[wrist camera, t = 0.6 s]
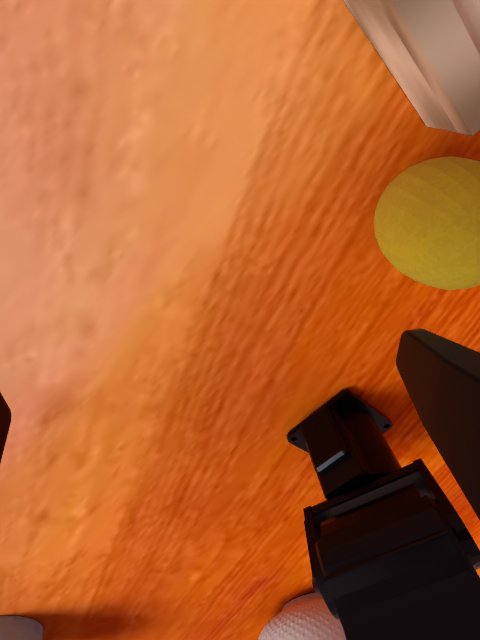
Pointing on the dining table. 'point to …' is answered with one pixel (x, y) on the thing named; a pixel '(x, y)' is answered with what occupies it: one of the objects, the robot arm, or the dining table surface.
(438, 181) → the lemon
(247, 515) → the dining table surface
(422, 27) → the base
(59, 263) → the dining table surface
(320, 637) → the cereal bowl
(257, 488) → the dining table surface
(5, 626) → the gray tapered pot
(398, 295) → the dining table surface
